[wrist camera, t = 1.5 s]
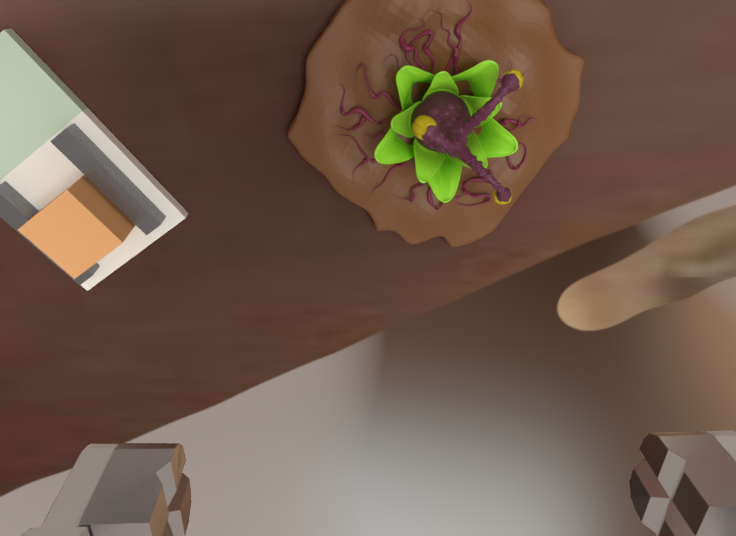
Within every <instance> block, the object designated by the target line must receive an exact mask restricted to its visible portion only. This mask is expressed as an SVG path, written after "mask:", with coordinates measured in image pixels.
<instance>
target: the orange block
mask: <svg viewBox="0 0 736 536" xmlns="http://www.w3.org/2000/svg"><path fill="white" fill-rule="evenodd" d="M134 227H135V224H134V223H133V222H132V221H131V220H130V219H129V218H128V217H127V216H126V215H125V214H124V213H123V212H122V211H121V210H120V209H119V208H118V207H117V206H116V205H115V204H114V203H113V202H112V201H111V200H110V199H109V198H108V197H107V196H105V195H104V194H103V193H102V192H101V191H100V190H99V189H98V188H97V187H96V186H95V185H94V184H93V183H92V182H91V181H90V180H89V179H88V178H87V177H86V176H85V175H83V176H82V177H81V178H79V179H78V180H77V181H76V182H74V183H73V184H72V185H71V186H69V187H68V188H67V189H66V190H65V191H63V192H62V193H61V194H60V195H58V196H57V197H56V198H55V199H53V200H52V201H51V202H50V203H48V204H47V205H46V206H45V207H44V208H42V209H41V210H40V211H39V212H38V213H36V214H35V215H34V216H33V217H32V218H31V219H30V220H28V221H27V222H26V223H25V224H24V225H23V226H21V227H20V228H19V229H18V231H19V232H20V233H21V234H23V235H24V236H25V237H26V238H27V239H28V240H30V241H31V242H32V243H33V244H34V245H35V246H37V247H38V248H39V249H40V250H41V251H42V252H43V253H45V254H46V255H47V256H48V257H49V258H50V259H52V260H53V261H54V262H55V263H56V264H57V265H58V266H60V267H61V268H62V269H63V270H64V271H65V272H67V273H68V274H69V275H70V276H71V277H72V278H74V279H75V278H77V277H78V276H79V275H81V274H82V273H83V272H85V271H86V270H87V269H89V268H90V267H91V266H93V265H94V264H95V263H97V262H98V261H99V260H101V259H102V258H103V257H105V256H106V255H107V254H109V253H110V252H111V251H113V250H114V249H115V248H116V247H118V246H119V245H120V244H122V243H123V242H124V240H125V239H126V238H127V236H128V235H129V234H130V232H131V231H132V229H133V228H134Z"/></svg>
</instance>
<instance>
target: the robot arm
mask: <svg viewBox="0 0 736 536" xmlns="http://www.w3.org/2000/svg"><path fill="white" fill-rule="evenodd" d="M639 450H640V452H641V453H642V455H643V457H644V459H643V460H642V461H641V462H639V463H638V464H637V465H636V466H634V467H633V470H632V473H631V477H630V480H629V486H630V497H631V500H632V503H633V506H634V509H635V511H636V513H637V515H638V517H639V518H640V520H641V522H642V523H643V524H645V525H646V526H647V527H649V528H650V529H651V530H653V531H654V532H655V533H657V535H656V536H736V432H734V431H705V432H677V433H675V432H674V433H649V434H648V435H647V436H646V437H644V438H643V440H642V443H641V446H640V449H639ZM185 461H186V458H185V453H184V449H183V445H181V444H166V443H162V444H158V443H156V444H155V443H141V444H140V443H120V444H89V445H88V446H87V447H86V448H85V449H84V450H83V451H82V452H81V454H80V456H79V457H78V459H77V461H76V463H75V465H74V467H73V468H72V470H71V472H70V474H69V476H68V478H67V479H66V481H65V483H64V485H63V487H62V489H61V490H60V492H59V494H58V496H57V498H56V500H55V501H54V503H53V505H52V507H51V509H50V511H49V512H48V514H47V516H46V518H45V520H44V522H43V524H42V525H41V527H40V528H30V529H29V530H27V531H26V532H25V533H23V534H22V535H21V536H185V534H186V530H187V527H188V522H189V516H190V508H191V487H190V480H189V478H188V477H187V476H186V475H184V474H183V473H182V471H183V468H184V465H185Z"/></svg>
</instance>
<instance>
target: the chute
mask: <svg viewBox="0 0 736 536" xmlns="http://www.w3.org/2000/svg"><path fill="white" fill-rule="evenodd" d="M83 175H85V176H86V177H87V178H88V179H89V180H90V181H91V182H92V183H93V184H94V185H95V186H96V187H97V188H98V189H99V190H100V191H101V192H102V193H103V194H104V195H105V196H107V197H108V198H109V199H110V200H111V201H112V202H113V203H114V204H115V205H116V206H117V207H118V208H119V209H120V210H121V211H122V212H123V213H124V214H125V215H126V216H127V217H128V218H129V219H130V220H131V221H132V222H133V223H134V224H135V227H134V228H133V229H132V231H131V232H130V234H129V235H128V236H127V238H126V239H125V240H124V242H123V243H122V244H120V245H119V246H118V247H116V248H115V249H114V250H113V251H111V252H110V253H109V254H107V255H106V256H105V257H103V258H102V259H101V260H99V261H98V262H97V263H95V264H94V265H93V266H91V267H90V268H89V269H87V270H86V271H85V272H83V273H82V274H81V275H79V276H78V277H77V278H75V279H74V278H72V277H71V276H70V275H69V274H68V273H67V272H65V271H64V270H63V269H62V268H61V267H60V266H58V265H57V264H56V263H55V262H54V261H53V260H52V259H50V258H49V257H48V256H47V255H46V254H45V253H43V252H42V251H41V250H40V249H39V248H38V247H37V246H35V245H34V244H33V243H32V242H31V241H30V240H28V239H27V238H26V237H25V236H24V235H23V234H21V233H20V232H19V231H18V229H19V228H20V227H21V226H23V225H24V224H25V223H26V222H27V221H28V220H30V219H31V218H32V217H33V216H34V215H35V214H36V213H38V212H39V211H40V210H41V209H42V208H44V207H45V206H46V205H47V204H48V203H50V202H51V201H52V200H53V199H55V198H56V197H57V196H58V195H60V194H61V193H62V192H63V191H65V190H66V189H67V188H68V187H69V186H71V185H72V184H73V183H74V182H76V181H77V180H78V179H79V178H81V177H82V176H83ZM187 215H188V212H187V211H186V210H185V209H184V208H183V207H182V206H181V205H180V204H179V203H178V202H177V201H176V200H175V199H174V197H173V196H172V195H171V194H170V193H169V192H168V191H167V190H166V189H165V188H164V187H163V186H162V185H161V184H160V183H159V182H158V181H157V180H156V179H155V178H154V177H153V176H152V174H151V173H150V172H149V171H148V170H147V169H146V168H145V167H144V166H143V165H142V164H141V163H140V162H139V161H138V160H137V159H136V158H135V157H134V156H133V155H132V154H131V153H130V152H129V150H128V149H127V148H126V147H125V146H124V145H123V144H122V143H121V142H120V141H119V140H118V139H117V138H116V137H115V136H114V135H113V134H112V133H111V132H110V131H109V130H108V129H107V128H106V126H105V125H104V124H103V123H102V122H101V121H100V120H99V119H98V118H97V117H96V116H95V115H94V114H93V113H92V112H91V111H90V110H89V109H88V108H87V107H86V106H85V105H84V103H83V102H82V101H81V100H80V99H79V98H78V97H77V96H76V95H75V94H74V93H73V92H72V91H71V90H70V89H69V88H68V87H67V86H66V85H65V84H64V83H63V82H62V81H61V79H60V78H59V77H58V76H57V75H56V74H55V73H54V72H53V71H52V70H51V69H50V68H49V67H48V66H47V65H46V64H45V63H44V62H43V61H42V60H41V59H40V58H39V56H38V55H37V54H36V53H35V52H34V51H33V50H32V49H31V48H30V47H29V46H28V45H27V44H26V43H25V42H24V41H23V40H22V39H21V38H20V37H19V36H18V35H17V34H16V32H15V31H14V30H13V29H12V28H10V29H5V30H3V31H2V32H1V33H0V217H1V218H2V219H3V220H4V221H5V222H7V223H8V224H9V225H10V226H11V227H12V228H14V229H15V230H16V231H17V232H18V233H19V234H21V235H22V236H23V237H24V238H25V239H26V240H27V241H29V242H30V243H31V244H32V245H33V246H34V247H36V248H37V249H38V250H39V251H40V252H41V253H43V254H44V255H45V256H46V257H47V258H48V259H49V260H51V261H52V262H53V263H54V264H55V265H56V266H58V267H59V268H60V269H61V270H62V271H63V272H65V273H66V274H67V275H68V276H69V277H70V278H72V279H73V280H74V281H75V282H76V283H77V284H78V285H81V286H82V287H83V288H85V289H86V290H87V291H88V290H89V289H91V288H92V287H93V286H95V285H96V284H97V283H99V282H100V281H101V280H103V279H104V278H105V277H107V276H108V275H110V274H111V273H112V272H114V271H115V270H116V269H118V268H119V267H120V266H122V265H123V264H124V263H126V262H127V261H128V260H130V259H131V258H132V257H134V256H135V255H137V254H138V253H139V252H141V251H142V250H143V249H145V248H146V247H147V246H149V245H150V244H151V243H153V242H154V241H155V240H157V239H158V238H159V237H161V236H162V235H164V234H165V233H166V232H168V231H169V230H170V229H172V228H173V227H174V226H176V225H177V224H178V223H180V222H181V221H182V220H184V219H185V218H186V217H187Z"/></svg>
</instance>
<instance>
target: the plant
mask: <svg viewBox="0 0 736 536" xmlns="http://www.w3.org/2000/svg"><path fill="white" fill-rule="evenodd" d="M583 66H584V59H583V57H581V56H580V55H578V54H575V53H573V52H570V51H568V50H567V49H565V48H564V47H563V46H562V44H561V43H560V41H559V40H558V38H557V36H556V34H555V31H554V28H553V24H552V17H551V12H550V9H549V8H548V7H547V5H546V4H545V3H543V2H542V1H541V0H345V1H344V2H343V3H342V5H341V6H340V7H339V9H338V10H337V12H336V13H335V15H334V16H333V18H332V19H331V21H330V22H329V24H328V25H327V27H326V28H325V29H324V31H323V32H322V34H321V35H320V36H319V38H318V39H317V41H316V42H315V43H314V45H313V46H312V48H311V50H310V51H309V53H308V56H307V59H306V84H305V91H304V95H303V98H302V101H301V104H300V106H299V109H298V112H297V114H296V116H295V118H294V120H293V121H292V123H291V125H290V126H289V128H288V138H289V140H290V141H291V142H292V143H293V145H294V146H295V147H296V149H297V150H298V152H299V154H300V155H301V156H302V157H303V158H304V159H305V160H306V161H307V162H308V163H309V164H310V165H312V166H313V167H314V168H316V169H317V170H318V171H319V172H320V173H322V174H323V175H324V176H325V177H326V178H327V180H328V181H329V182H330V184H331V185H332V187H333V188H334V189H335V190H336V191H337V192H338V193H339V194H340V195H342V196H343V197H345V198H346V199H348V200H350V201H351V202H353V203H354V204H356V205H358V206H360V207H362V208H363V209H365V210H366V211H367V212H368V213H369V214H370V215H371V217H372V219H373V222H374V225H375V228H376V230H377V231H384V230H390V231H394V232H396V233H397V234H398V235H400V236H401V237H402V238H403V240H404V241H405V242H407V243H409V244H418V243H421V242H424V241H426V240H428V239H431V238H434V237H439V236H441V237H444V238H445V240H446V241H447V243H448V244H449V245H450V246H451V247H458V246H462V245H465V244H469V243H472V242H474V241H476V240H479V239H481V238H483V237H484V236H486V235H488V234H489V233H490V232H492V231H493V230H494V229H495V228H496V227H497V226H498V224H499V223H500V222H501V221H502V219H503V218H504V217H505V215H506V214H507V213H508V211H509V210H510V208H511V207H512V205H513V204H514V202H515V201H516V200H517V198H518V197H519V195H520V194H521V193H522V192H523V190H524V189H525V188H526V187H527V186H528V184H529V183H530V182H531V181H532V180H533V178H534V177H535V176H536V174H537V173H538V172H539V170H540V169H541V168H542V166H543V165H544V163H545V162H546V161H547V159H548V158H549V156H550V155H551V154H552V153H553V152H554V151H555V150H556V149H557V148H558V147H559V146H561V145H562V144H563V143H564V142H565V141H566V140H567V138H568V137H569V135H570V128H571V124H572V122H573V119H574V117H575V115H576V113H577V110H578V107H579V104H580V99H581V91H580V82H581V76H582V70H583Z"/></svg>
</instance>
